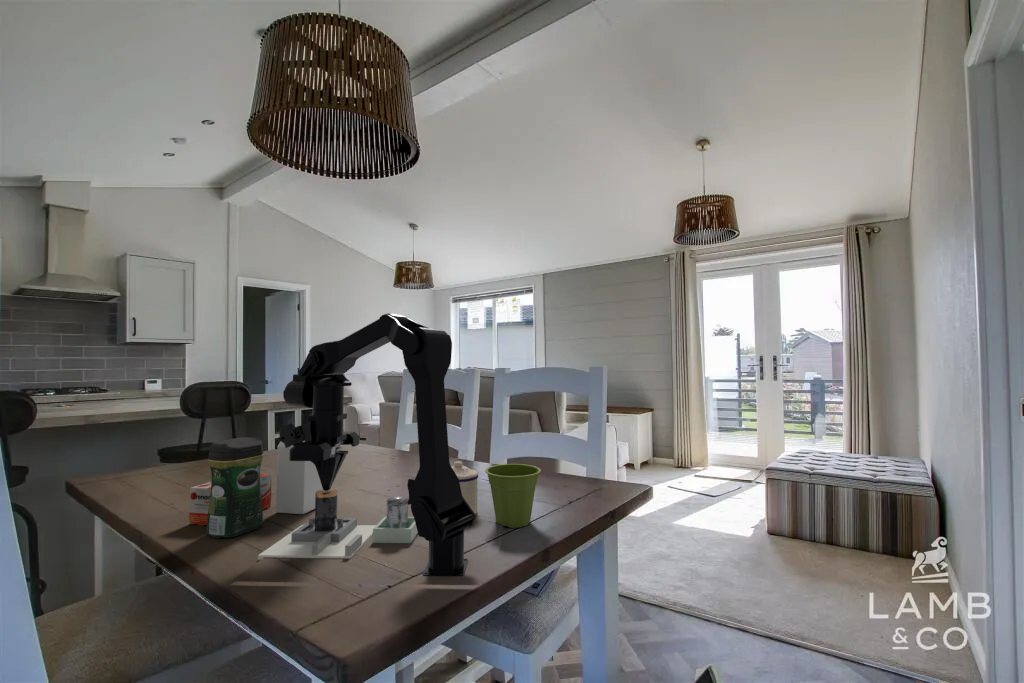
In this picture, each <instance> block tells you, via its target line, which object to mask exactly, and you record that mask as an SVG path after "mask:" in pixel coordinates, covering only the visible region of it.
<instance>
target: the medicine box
mask: <svg viewBox="0 0 1024 683" xmlns="http://www.w3.org/2000/svg"><path fill="white" fill-rule="evenodd" d="M211 482H212V481H210V482H206V483H203V484H199V485H196V486H191V487H190V490H189V501H188V520H189V525H190V524H198V525H197V526H204V525H207V517H208V510H209V503H210V494H211ZM260 489H261V501H262V511H264V510H263V509H265V510H267V509H270V508H271V507H272V506H271V502H272V501H271V500H272V475H271V474H269V473H266V474H265V473H263V474H262V473H260ZM269 507H270V508H269ZM266 508H267V509H266Z"/></svg>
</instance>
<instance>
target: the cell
mask: <svg viewBox="0 0 1024 683" xmlns="http://www.w3.org/2000/svg"><path fill="white" fill-rule="evenodd" d="M314 517H315V530H317V531H329V530H332V529H335V528H336V527H337V518H338V489H336V488H330V489H329V490H323V489H322V490H319V491H316V492H315V509H314Z"/></svg>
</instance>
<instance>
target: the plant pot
mask: <svg viewBox="0 0 1024 683" xmlns="http://www.w3.org/2000/svg"><path fill="white" fill-rule="evenodd" d="M541 471H542V470H541V468H539V467H538V466H535V465H530V464H525V463H524V464H523V463H503V464H496V465H495V464H494V465H492V466H488V467H486V468H485V470H484V472H485V473H486V474H487V477H488V482H489V486H490V491H491V496H492V503H493V509H494V517H495V521H496V523H497V524H498V525H500V526H502V527H503V528H504V527H508V528H511V529H517V528H524V527H526V526H528V524H529V523H530V524H531V518H532V513H533V504H534V499H535V498H534V497H535V493H536V492H535V491H536V485H537V484H538V479H539V474H540V473H541ZM523 526H524V527H523Z"/></svg>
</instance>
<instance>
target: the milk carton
mask: <svg viewBox="0 0 1024 683" xmlns="http://www.w3.org/2000/svg"><path fill="white" fill-rule="evenodd" d="M303 442H305V441H303ZM276 446H277V451H276V452H277V453H276V456H277V457H276V458H277V459H276V489H275V490H276V491H275V492H276V495H275V499H276V500H275V512H276V513H280V514H281V513H282V514H296V515H305V514H307V513H309V512H311V511H312V510H315V492H316V491H319V490H323V488H322V485H321V481H320V478H319V475H318V472H317V469H316V467H315V465H314V464H313V463H312V462H311V461H290V460H289V456H290V449H291V448H292V447H293V446H292V445H291V446H290V447H288V448H286V447H285V444H284V443H283V442H280V441H279V444H278V445H276Z"/></svg>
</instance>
